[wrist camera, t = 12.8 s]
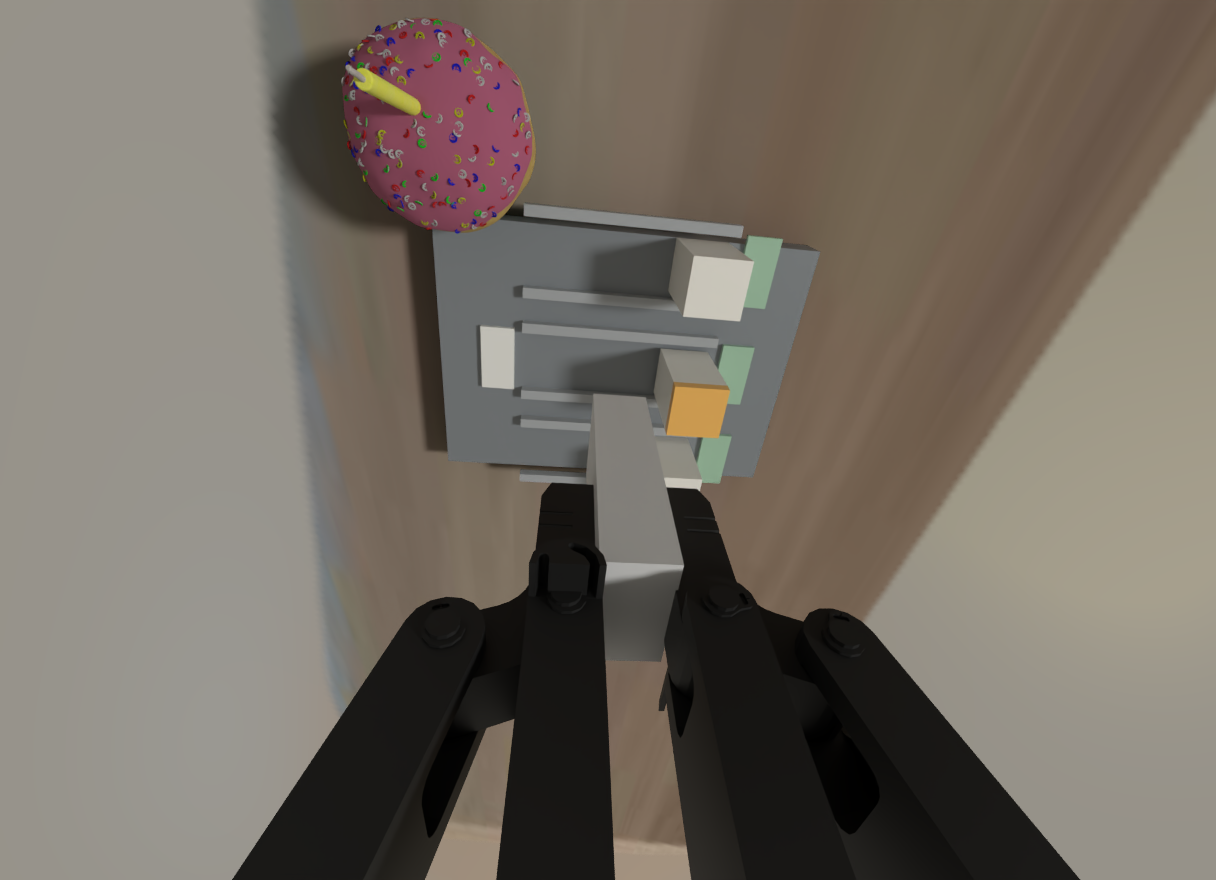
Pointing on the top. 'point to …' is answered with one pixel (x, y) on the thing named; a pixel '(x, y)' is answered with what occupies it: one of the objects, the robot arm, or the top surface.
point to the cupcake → (437, 124)
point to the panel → (609, 333)
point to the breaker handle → (690, 393)
